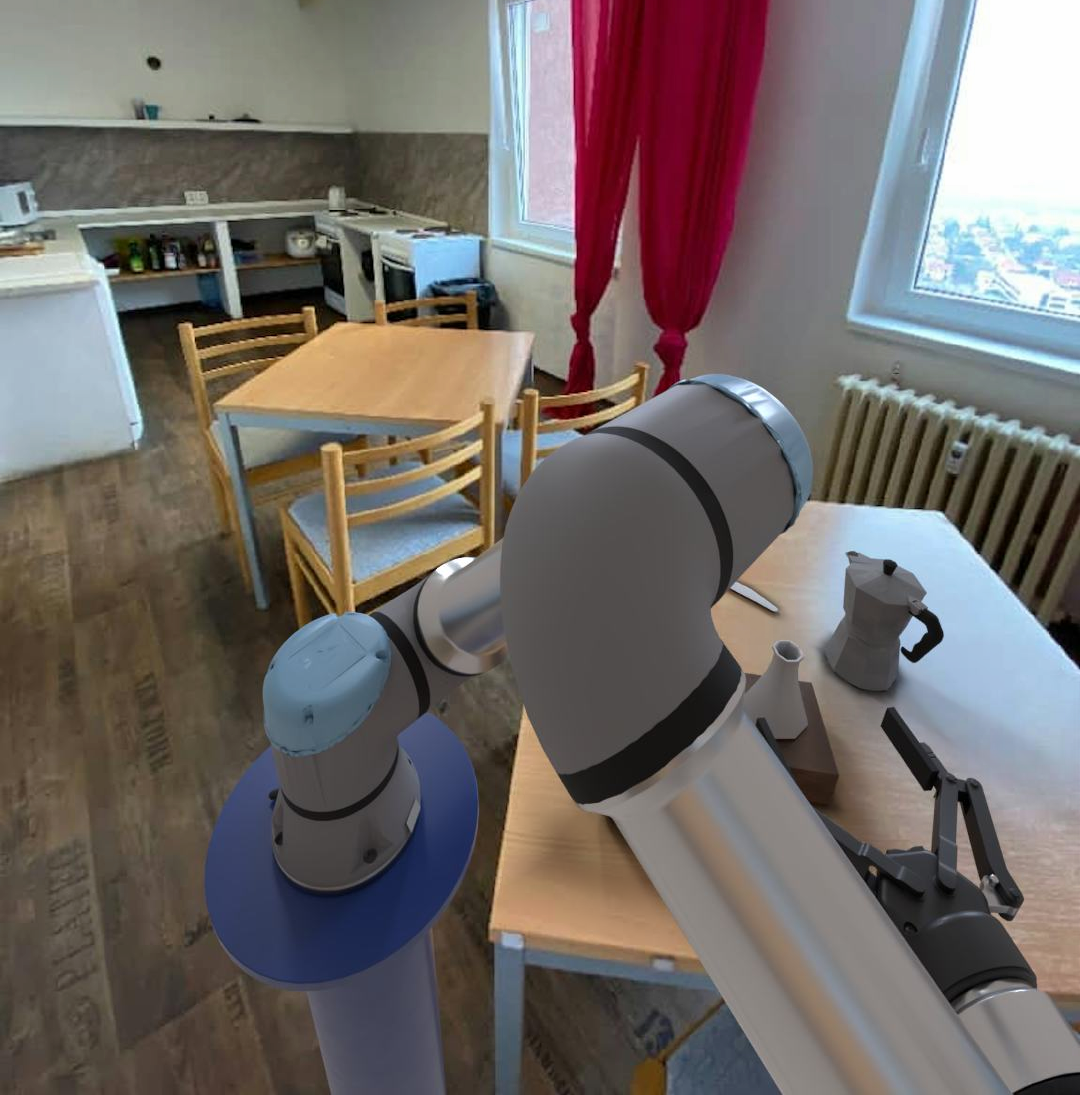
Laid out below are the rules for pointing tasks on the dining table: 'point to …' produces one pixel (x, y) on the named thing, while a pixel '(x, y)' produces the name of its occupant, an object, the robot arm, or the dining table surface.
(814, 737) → the walnut block
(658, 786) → the robot arm
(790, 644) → the flask
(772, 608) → the butter knife
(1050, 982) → the dining table surface
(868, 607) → the coffeepot
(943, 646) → the dining table surface
